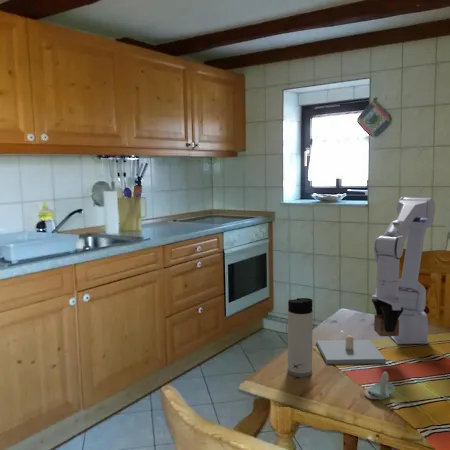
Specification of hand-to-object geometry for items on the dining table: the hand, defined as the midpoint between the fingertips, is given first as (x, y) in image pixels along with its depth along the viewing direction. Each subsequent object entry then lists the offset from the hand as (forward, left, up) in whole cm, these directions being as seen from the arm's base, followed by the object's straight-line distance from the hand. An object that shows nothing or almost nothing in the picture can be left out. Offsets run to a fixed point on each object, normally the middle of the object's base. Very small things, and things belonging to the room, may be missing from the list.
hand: (386, 327), depth 128 cm
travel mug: (+25, +8, -9) cm, 28 cm away
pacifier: (+9, +20, -9) cm, 24 cm away
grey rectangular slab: (+9, -4, -9) cm, 13 cm away
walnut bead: (0, 0, -1) cm, 1 cm away
